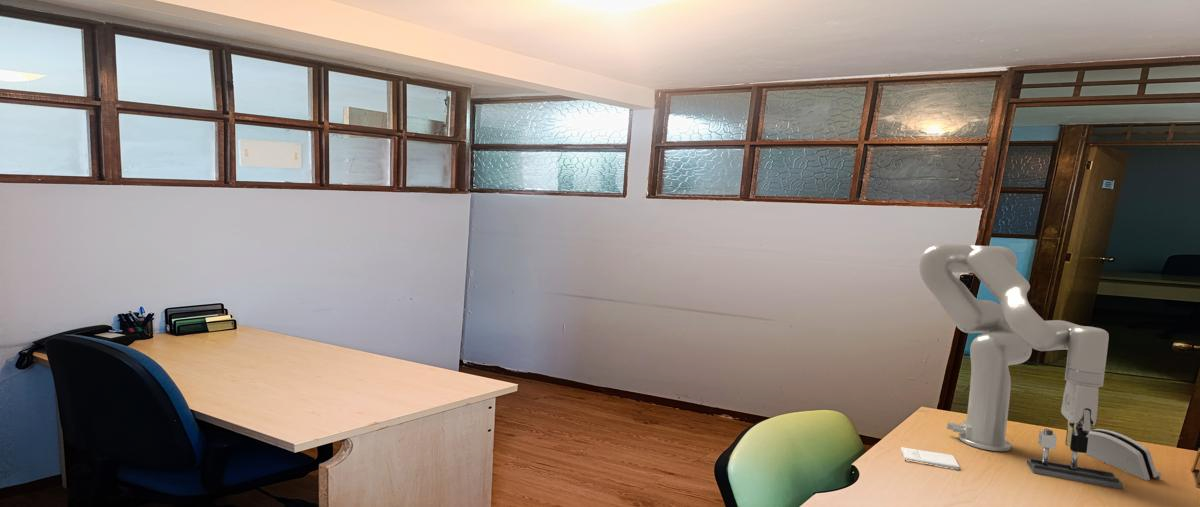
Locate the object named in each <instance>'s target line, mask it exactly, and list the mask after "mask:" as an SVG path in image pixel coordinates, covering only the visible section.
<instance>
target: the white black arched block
mask: <svg viewBox="0 0 1200 507" xmlns="http://www.w3.org/2000/svg"><path fill="white" fill-rule="evenodd" d="M1084 454H1085V455H1087V456H1088V457H1091V458H1093V459H1095V460H1098V461H1100V462H1102V463H1104V462H1105V463H1104V464H1107V465H1109V466H1111V465H1112V466H1111V467H1113V466H1114V468H1116V467H1117V468H1116V469H1118V468H1119V469H1118V470H1120V469H1121V471H1123V472H1125V471H1126V473H1127V472H1128V474H1130V475H1132V474H1133V475H1132V476H1134V475H1135V476H1134V477H1136V476H1137V478H1139V477H1140V478H1139V479H1141V478H1142V479H1141V480H1143V479H1144V481H1151V478H1154V479H1157V478H1158V479H1157V480H1159V479H1161V480H1162V476H1161V473H1160V472H1158V471H1157V470H1156V467H1155V466H1156V465H1155V464H1154V460H1153V456H1152V454H1151V452H1150V450H1149V449H1148V448H1147V447H1145V446H1144V445H1142V444H1141V443H1139V442H1138V441H1136V440H1134V439H1132V438H1131V437H1129V436H1127V435H1125V434H1122V433H1119V432H1116V431H1112V430H1108V429H1101V428H1095V429H1091V431H1090V432H1089V437H1088V445H1087V452H1086V453H1084ZM1155 477H1156V478H1155Z"/></svg>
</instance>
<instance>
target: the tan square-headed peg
mask: <svg viewBox="0 0 1200 507" xmlns="http://www.w3.org/2000/svg"><path fill="white" fill-rule="evenodd" d="M1067 425H1068V428H1067V429H1068V433H1067V432H1066V434H1067V442H1066V441H1065V445H1066V444H1067V445H1068V447H1069V448H1070V446H1071V437H1072V434H1073V435H1074V425H1071V424H1068V423H1067ZM1079 427H1082V426H1078V429H1079ZM1067 445H1066V446H1067ZM1071 452H1072V453H1071V460H1070V465H1071V468H1072V469H1076V468H1077V466H1078V459H1079V452H1075V451H1071Z"/></svg>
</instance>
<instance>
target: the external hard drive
mask: <svg viewBox="0 0 1200 507" xmlns="http://www.w3.org/2000/svg"><path fill="white" fill-rule="evenodd" d="M900 448H901V451H902V453H903V455H902V457H903V456H904V459H907V460H912V461H918V462H923V463H928V464H932V465H938V466H942V467H948V468H953V469H952V470H954V469H957V470H956V471H959V470H960V465H959V463H958V462H957V460H956V458H955V457H954V455H953V454H947V453H941V452H934V451H927V450H922V449H915V448H909V447H902V446H900ZM900 448H899V449H900ZM901 451H900V452H901ZM904 459H903V460H904ZM942 467H941V468H942ZM948 468H947V469H948Z"/></svg>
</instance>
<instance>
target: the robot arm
mask: <svg viewBox="0 0 1200 507" xmlns="http://www.w3.org/2000/svg"><path fill="white" fill-rule="evenodd" d="M918 265H919V268H918V269H919V274H920V276H921V279H922V281H923V283H924V284H925V285H926V287H927V288H928V290H929V291H930V292H931V293H932V295H933V296H934V297H935V298H936V300H937V301H938V303H939V304H940V306H941V307H942V308H943V310H944V312H946V314H947V315H948V317H949V318H950V320H951V321H952V322H953V324H954V326H956V327H957V329H958V330H960V331H961V332H963V333H965V334H979V335H977V336H976V337H975V338H973V340H972V341H971V344H970V347H969V355H970V366H971V367H970V368H971V369H970V384H969V396H968V405H967V414H966V415H967V416H966V420H964V421H963V423H962V422H961V423H958V424H957V423H954V422H949V421H948V422H947V423H946V430H949V431H950V430H952V432H954V433H958V439H959V440H960V441H961V442H962V443H964V444H967V445H969V446H972V447H975V448H977V449H982V450H987V451H993V452H1008V451H1010V450H1012V444H1011V442H1010V441H1008V440H1007V439H1006V436H1007V426H1008V416H1009V407H1010V398H1011V387H1012V381H1011V380H1012V379H1011V374H1010V369H1009V366H1013V365H1020V364H1023V363H1025V362H1027V361H1028V360H1029V359H1030V357H1031V355H1032V352H1033V350H1036V351H1038V352H1039V351H1040V352H1049V351H1059V350H1060V351H1061V350H1067V356H1066V363H1065V364H1066V366H1065V372H1064V380H1065V381H1066V383H1065V386H1064V391H1063V397H1062V403H1061V407H1060V408H1061V409H1060V413H1061V414H1062V416H1063V417H1064V418H1065V419H1066V420H1067V425H1066V426H1067V427H1066V428H1067V429H1066V436H1065V445H1066V446H1068V445H1067V444H1066V442H1067V433H1068V424H1071V425H1074V435H1073V434H1072V437H1071V446H1070V447H1069V446H1068V447H1069V449H1070V451H1071V452H1072V451H1075V452H1078V453H1082V454H1085V453H1086V452H1087V445H1088V437H1089V432H1090V431H1091V430H1092V429H1091V428H1092V427H1094V426H1095V425H1096V422H1097V418H1098V407H1099V388H1101V387H1103V386H1104V380H1105V372H1106V363H1107V356H1108V349H1109V348H1108V347H1109V339H1110V337H1109V335H1110V334H1109V332H1108V331H1106V330H1105V329H1103V328H1100V327H1094V326H1087V325H1086V326H1085V325H1079V324H1076V323H1073V322H1070V321H1066V320H1061V319H1059V320H1058V319H1055V320H1053V319H1051V320H1044V319H1043V318H1042V317H1041V316H1040V315H1039V314H1038V313H1037V312H1036V311H1035V309H1033V307H1032V306H1031V304H1030V303H1029V300H1028V292H1029V291H1030V288H1031V285H1030V283H1029V281H1028V280H1027V279H1026V278H1025V277H1024V276H1023V275H1022V274H1021V273H1020V272H1019V271H1018V269H1017V268H1018V257H1017V256H1016V254H1015V253H1014V251H1012V250H1011V249H1010V248H1008V247H1006V246H1001V245H1000V246H997V245H995V246H994V245H973V244H960V243H959V244H957V243H953V244H952V243H950V244H949V243H939V244H933V245H932V246H929V247H927V248H926V249H925V250H924V251H923V253H922V255H921V257H920V259H919V264H918ZM953 273H969V274H974V275H975V276H976V278H978V280H979V281H980V282H981V283H982V284H983V285H984V286H985V287H986V288H987V289H988V291H990V294H992V295H993V296H994V297H995V298H996V299H997V301H998V302H999V303H997V302H995V301H993V300H988V299H978V298H976V297H975V295H973V293H972V292H971V291H970V289H969V288H968V287H967V286H966V284H964V283H963V281H961V279H959V278H957V277H956V276H955V274H953ZM1078 426H1082V427H1079V429H1078Z"/></svg>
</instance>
